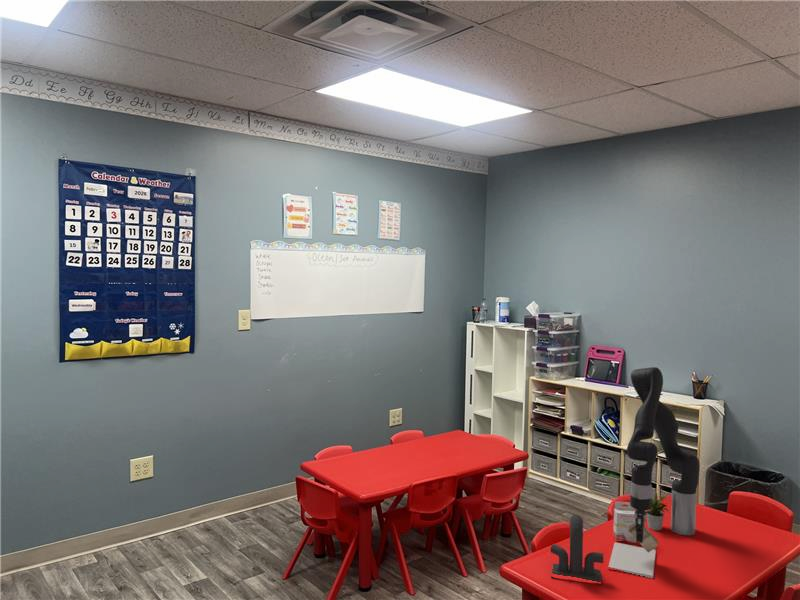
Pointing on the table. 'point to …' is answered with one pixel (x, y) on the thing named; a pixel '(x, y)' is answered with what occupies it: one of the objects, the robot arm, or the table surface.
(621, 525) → the ink cartridge box
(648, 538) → the wooden block
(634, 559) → the grey board
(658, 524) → the house plant
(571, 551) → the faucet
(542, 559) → the table surface
